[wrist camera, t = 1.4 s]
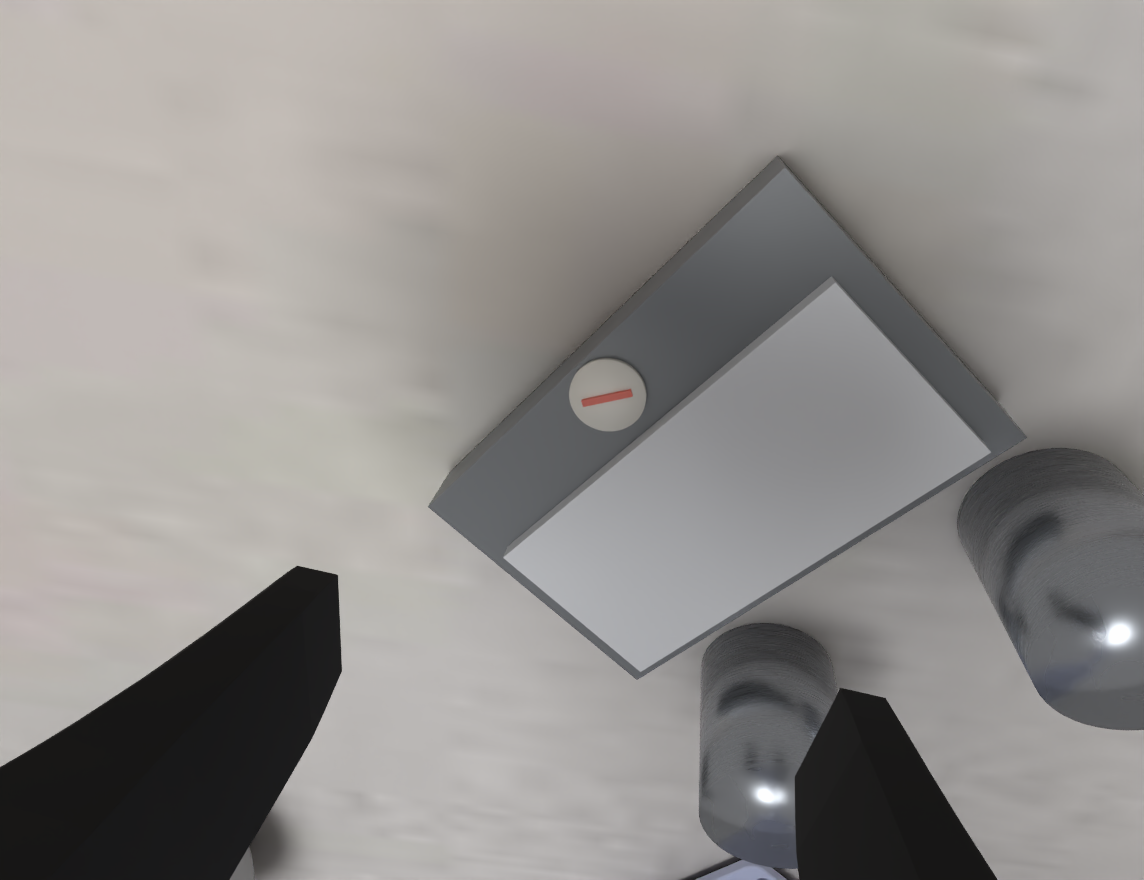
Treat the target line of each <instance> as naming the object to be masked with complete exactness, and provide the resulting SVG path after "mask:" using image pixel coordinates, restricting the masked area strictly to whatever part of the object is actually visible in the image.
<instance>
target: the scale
mask: <svg viewBox="0 0 1144 880" xmlns="http://www.w3.org/2000/svg"><path fill="white" fill-rule="evenodd" d="M1026 438H1027V437H1026V436H1025V434H1024V433H1023V432H1022V431H1021V430H1020V428H1019V427H1018V426H1017V425H1016V423H1015V422H1014V421H1013V420H1012V419H1011V417H1010V416H1009V415H1008V414H1007V413H1006V411H1005V410H1004V409H1003V408H1002V406H1001V405H1000V404H999V403H998V402H997V401H996V399H995V398H994V397H993V396H992V395H991V394H990V393H989V392H988V390H987V389H986V388H985V387H984V386H983V385H982V384H981V383H980V382H979V380H978V379H977V378H976V377H975V376H974V375H973V374H972V373H971V371H970V370H969V369H968V368H967V367H966V366H965V365H964V364H963V363H962V361H961V360H960V359H959V358H958V357H957V356H956V355H955V354H954V352H953V351H952V350H951V349H950V348H949V347H948V346H947V345H946V344H945V342H944V341H943V340H942V339H941V338H940V337H939V336H938V335H937V333H936V332H935V331H934V330H933V329H932V328H931V327H930V326H929V325H928V323H927V322H926V321H925V320H924V319H923V318H922V317H921V316H920V314H919V313H918V312H917V311H916V310H915V309H914V308H913V307H912V306H911V304H910V303H909V302H908V301H907V300H906V299H905V298H904V297H903V295H902V294H901V293H900V292H899V291H898V290H897V289H896V288H895V287H894V285H893V284H892V283H891V282H890V281H889V280H888V279H887V278H886V276H885V275H884V274H883V273H882V272H881V271H880V270H879V269H878V268H877V266H876V265H875V264H874V263H873V262H872V261H871V260H870V259H869V257H868V256H867V255H866V254H865V253H864V252H863V251H862V250H861V249H860V247H859V246H858V245H857V244H856V243H855V242H854V241H853V240H852V238H851V237H850V236H849V235H848V234H847V233H846V232H845V231H844V230H843V228H842V227H841V226H840V225H839V224H838V223H837V222H836V221H835V219H834V218H833V217H832V216H831V215H830V214H829V213H828V212H827V211H826V209H825V208H824V207H823V206H822V205H821V204H820V203H819V202H818V200H817V199H816V198H815V197H814V196H813V195H812V194H811V193H810V192H809V190H808V189H807V188H806V187H805V186H804V185H803V184H802V183H801V181H800V180H799V179H798V178H797V177H796V176H795V175H794V174H793V173H792V171H791V170H790V169H789V168H788V167H787V166H786V165H785V164H784V162H783V161H782V160H781V159H780V158H779V157H778V156H777V157H776V158H775V159H774V160H773V161H772V162H771V163H770V164H769V165H768V166H766V167H765V168H764V169H763V170H762V171H761V172H760V173H759V174H758V175H757V176H756V177H755V178H754V179H753V180H752V181H751V182H750V183H749V184H748V185H747V186H746V187H745V188H744V189H743V190H742V191H741V192H740V193H739V194H737V195H736V196H735V197H734V198H733V199H732V200H731V201H730V202H729V203H728V204H727V205H726V206H725V207H724V208H723V209H722V210H721V211H720V212H719V213H718V214H717V215H716V216H715V217H714V218H713V219H712V220H711V221H710V222H708V223H707V224H706V225H705V226H704V227H703V228H702V229H701V230H700V231H699V232H698V233H697V234H696V235H695V236H694V237H693V238H692V239H691V240H690V241H689V242H688V243H687V244H686V245H685V246H684V247H683V248H682V249H681V250H679V251H678V252H677V253H676V254H675V255H674V256H673V257H672V258H671V259H670V260H669V261H668V262H667V263H666V264H665V265H664V266H663V267H662V268H661V269H660V270H659V271H658V272H657V273H656V274H655V275H654V276H653V277H652V278H650V279H649V280H648V281H647V282H646V283H645V284H644V285H643V286H642V287H641V288H640V289H639V290H638V291H637V292H636V293H635V294H634V295H633V296H632V297H631V298H630V299H629V300H628V301H627V302H626V303H625V304H624V305H623V306H621V307H620V308H619V309H618V310H617V311H616V312H615V313H614V314H613V315H612V316H611V317H610V318H609V319H608V320H607V321H606V322H605V323H604V324H603V325H602V326H601V327H600V328H599V329H598V330H597V331H596V332H595V333H594V334H592V335H591V336H590V337H589V338H588V339H587V340H586V341H585V342H584V343H583V344H582V345H581V346H580V347H579V348H578V349H577V350H576V351H575V352H574V353H573V354H572V355H571V356H570V357H569V358H568V359H567V360H566V361H565V362H563V363H562V364H561V365H560V366H559V367H558V368H557V369H556V370H555V371H554V372H553V373H552V374H551V375H550V376H549V377H548V378H547V379H546V380H545V381H544V382H543V383H542V384H541V385H540V386H539V387H538V388H537V389H536V390H534V391H533V392H532V393H531V394H530V395H529V396H528V397H527V398H526V399H525V400H524V401H523V402H522V403H521V404H520V405H519V406H518V407H517V408H516V409H515V410H514V411H513V412H512V413H511V414H510V415H509V416H508V417H507V418H505V419H504V420H503V421H502V422H501V423H500V424H499V425H498V426H497V427H496V428H495V429H494V430H493V431H492V432H491V433H490V434H489V435H488V436H487V437H486V438H485V439H484V440H483V441H482V442H481V443H480V444H479V445H478V446H476V447H475V448H474V449H473V450H472V451H471V452H470V453H469V454H468V455H467V456H466V457H465V458H464V459H463V460H462V461H461V462H460V463H459V464H458V465H457V466H456V467H455V468H454V469H453V470H452V471H451V472H450V473H449V474H448V476H447V477H446V479H445V480H444V482H443V484H442V485H441V487H440V488H439V490H438V492H437V493H436V495H435V496H434V498H433V500H432V501H431V503H430V504H429V506H428V507H429V508H430V509H431V510H432V511H434V512H435V513H436V514H437V515H438V516H440V517H441V518H442V519H443V520H444V521H446V522H447V523H448V524H449V525H450V526H452V527H453V528H454V529H455V530H457V531H458V532H459V533H460V534H461V535H463V536H464V537H465V538H466V539H467V540H469V541H470V542H471V543H472V544H473V545H475V546H476V547H477V548H478V549H479V550H481V551H482V552H483V553H484V554H485V555H487V556H488V557H489V558H490V559H492V560H493V561H494V562H495V563H496V564H498V565H499V566H500V567H501V568H502V569H504V570H505V571H506V572H507V573H508V574H510V575H511V576H512V577H513V578H514V579H516V580H517V581H518V582H519V583H521V584H522V585H523V586H524V587H525V588H527V589H528V590H529V591H530V592H531V593H533V594H534V595H535V596H536V597H537V598H539V599H540V600H541V601H542V602H543V603H545V604H546V605H547V606H548V607H550V608H551V609H552V610H553V611H554V612H556V613H557V614H558V615H559V616H560V617H562V618H563V619H564V620H565V621H566V622H568V623H569V624H570V625H571V626H572V627H574V628H575V629H576V630H577V631H579V632H580V633H581V634H582V635H583V636H585V637H586V638H587V639H588V640H589V641H591V642H592V643H593V644H594V645H595V646H597V647H598V648H599V649H600V650H601V651H603V652H604V653H605V654H606V655H607V656H609V657H610V658H611V659H612V660H614V661H615V662H616V663H617V664H618V665H620V666H621V667H622V668H623V669H624V670H626V671H627V672H628V673H629V674H630V675H632V676H633V677H634V678H635V679H636V680H638V679H639V678H641V677H642V676H644V675H646V674H647V673H649V672H650V671H652V670H654V669H655V668H657V667H658V666H660V665H662V664H663V663H665V662H667V661H668V660H670V659H671V658H673V657H675V656H676V655H678V654H679V653H681V652H683V651H684V650H686V649H687V648H689V647H691V646H692V645H694V644H696V643H697V642H699V641H700V640H702V639H704V638H705V637H707V636H708V635H710V634H712V633H713V632H715V631H716V630H718V629H720V628H721V627H723V626H725V625H726V624H728V623H729V622H731V621H733V620H734V619H736V618H737V617H739V616H741V615H742V614H744V613H745V612H747V611H749V610H750V609H752V608H753V607H755V606H757V605H758V604H760V603H762V602H763V601H765V600H766V599H768V598H770V597H771V596H773V595H774V594H776V593H778V592H779V591H781V590H782V589H784V588H786V587H787V586H789V585H791V584H792V583H794V582H795V581H797V580H799V579H800V578H802V577H803V576H805V575H807V574H808V573H810V572H811V571H813V570H815V569H816V568H818V567H820V566H821V565H823V564H824V563H826V562H828V561H829V560H831V559H832V558H834V557H836V556H837V555H839V554H840V553H842V552H844V551H845V550H847V549H848V548H850V547H852V546H853V545H855V544H857V543H858V542H860V541H861V540H863V539H865V538H866V537H868V536H869V535H871V534H873V533H874V532H876V531H877V530H879V529H881V528H882V527H884V526H886V525H887V524H889V523H890V522H892V521H894V520H895V519H897V518H898V517H900V516H902V515H903V514H905V513H906V512H908V511H910V510H911V509H913V508H914V507H916V506H918V505H919V504H921V503H923V502H924V501H926V500H927V499H929V498H931V497H932V496H934V495H935V494H937V493H939V492H940V491H942V490H943V489H945V488H947V487H948V486H950V485H952V484H953V483H955V482H956V481H958V480H960V479H961V478H963V477H964V476H966V475H968V474H969V473H971V472H972V471H974V470H976V469H977V468H979V467H981V466H982V465H984V464H985V463H987V462H989V461H990V460H992V459H993V458H995V457H997V456H998V455H1000V454H1001V453H1003V452H1005V451H1006V450H1008V449H1009V448H1011V447H1013V446H1014V445H1016V444H1018V443H1019V442H1021V441H1022V440H1024V439H1026Z"/></svg>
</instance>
